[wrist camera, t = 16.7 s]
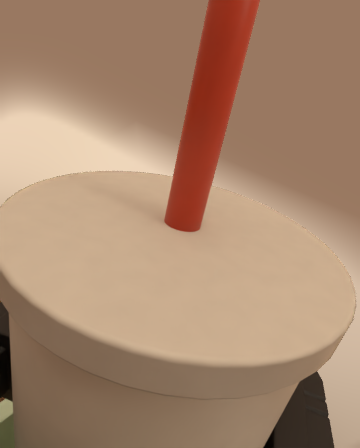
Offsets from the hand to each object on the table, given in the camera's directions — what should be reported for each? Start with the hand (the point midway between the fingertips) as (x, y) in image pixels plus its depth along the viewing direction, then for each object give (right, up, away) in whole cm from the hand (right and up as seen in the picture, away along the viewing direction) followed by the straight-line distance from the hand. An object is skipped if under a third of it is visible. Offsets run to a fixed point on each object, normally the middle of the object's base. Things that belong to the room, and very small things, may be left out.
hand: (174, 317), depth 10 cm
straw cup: (-2, -6, 0) cm, 6 cm away
